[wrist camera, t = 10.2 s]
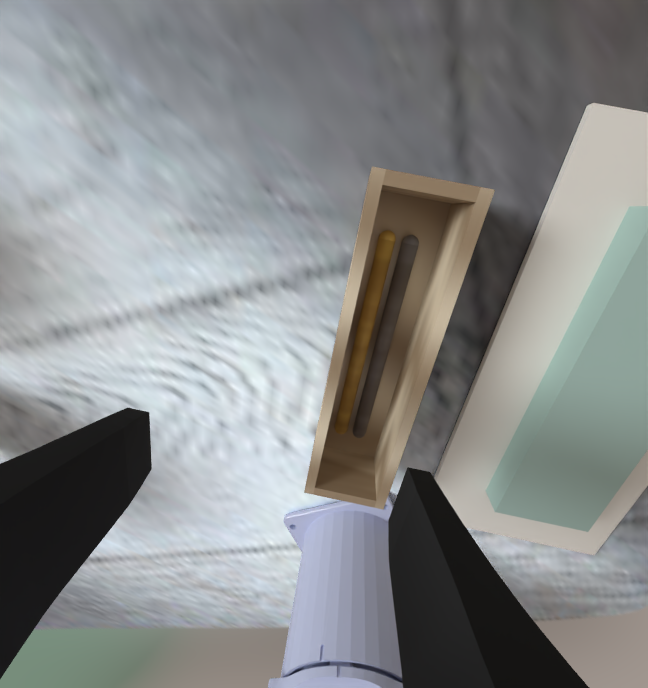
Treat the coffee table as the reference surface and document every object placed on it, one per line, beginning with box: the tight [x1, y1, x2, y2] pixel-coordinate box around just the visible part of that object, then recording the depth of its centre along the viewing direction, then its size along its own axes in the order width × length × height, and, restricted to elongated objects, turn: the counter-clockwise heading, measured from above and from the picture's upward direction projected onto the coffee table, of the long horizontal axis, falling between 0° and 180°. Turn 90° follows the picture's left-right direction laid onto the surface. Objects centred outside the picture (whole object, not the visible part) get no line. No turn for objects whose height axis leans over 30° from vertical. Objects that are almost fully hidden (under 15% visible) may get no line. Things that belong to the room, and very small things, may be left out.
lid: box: [486, 206, 648, 532], centre depth 17 cm, size 17×6×2 cm, turn 170°
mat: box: [434, 103, 648, 555], centre depth 18 cm, size 24×12×1 cm, turn 170°
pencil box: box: [304, 167, 495, 509], centre depth 17 cm, size 16×4×4 cm, turn 170°
